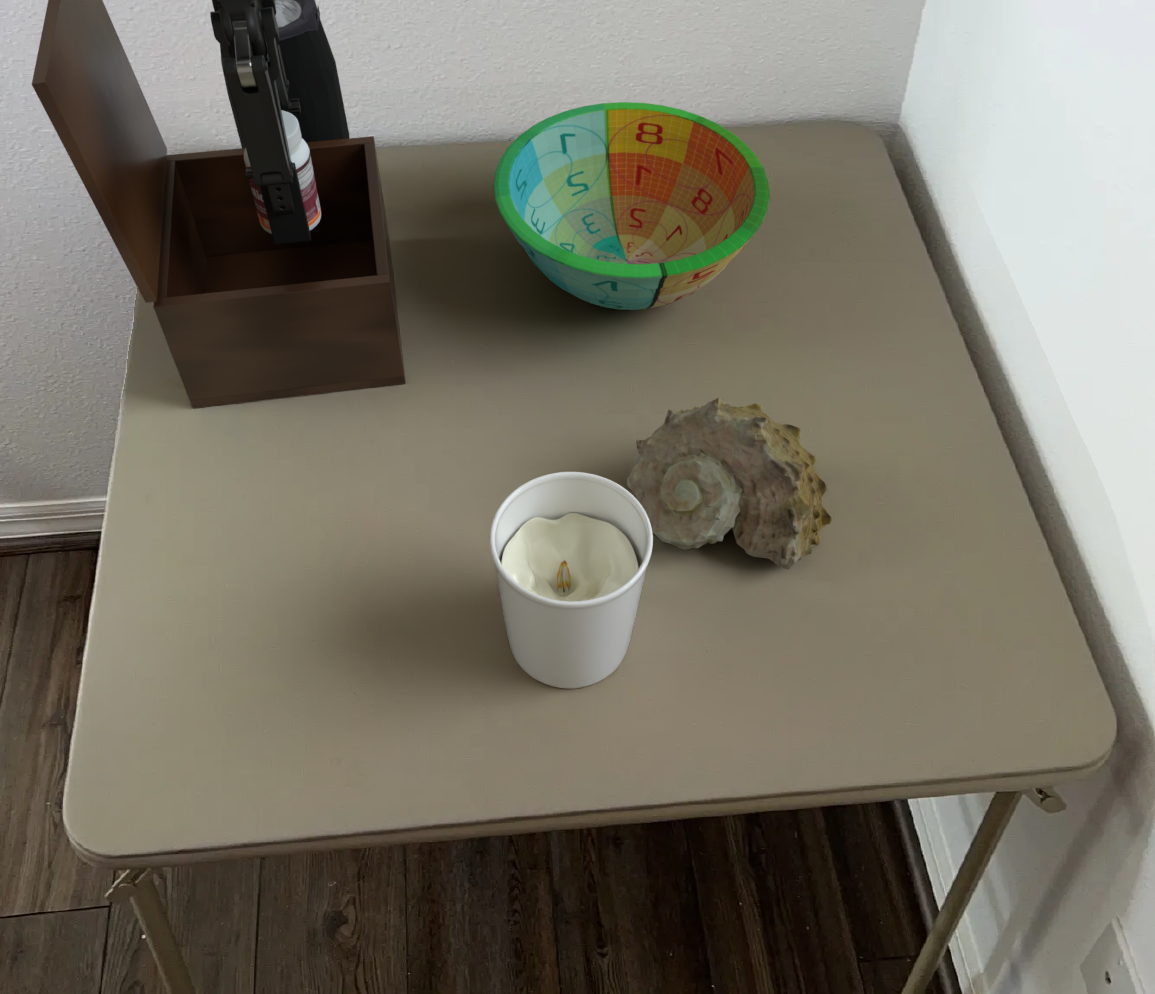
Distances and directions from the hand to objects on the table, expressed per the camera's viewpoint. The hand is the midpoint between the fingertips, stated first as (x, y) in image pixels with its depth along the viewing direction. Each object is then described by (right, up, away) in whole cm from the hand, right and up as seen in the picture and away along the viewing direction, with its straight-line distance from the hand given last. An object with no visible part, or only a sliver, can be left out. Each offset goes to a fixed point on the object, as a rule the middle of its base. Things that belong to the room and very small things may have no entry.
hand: (291, 215), depth 87 cm
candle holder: (+21, -31, -10) cm, 39 cm away
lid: (-10, +4, -9) cm, 14 cm away
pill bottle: (0, 0, 0) cm, 1 cm away
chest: (-2, -7, +8) cm, 11 cm away
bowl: (+26, -2, +12) cm, 29 cm away
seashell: (+33, -23, -3) cm, 40 cm away
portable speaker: (-3, +5, +18) cm, 18 cm away
